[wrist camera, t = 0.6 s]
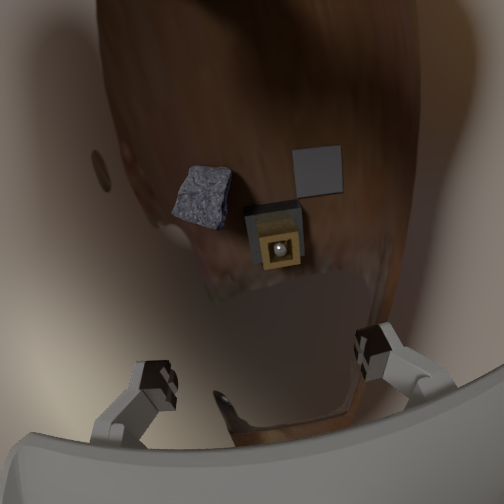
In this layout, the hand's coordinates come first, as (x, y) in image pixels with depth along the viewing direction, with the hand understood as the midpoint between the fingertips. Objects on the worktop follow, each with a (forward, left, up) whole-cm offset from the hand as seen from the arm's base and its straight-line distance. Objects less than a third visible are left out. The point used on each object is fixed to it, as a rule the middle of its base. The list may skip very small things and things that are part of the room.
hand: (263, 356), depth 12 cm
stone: (+6, -7, -44) cm, 44 cm away
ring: (+17, +5, -39) cm, 43 cm away
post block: (+17, +4, -43) cm, 46 cm away
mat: (+7, +14, -43) cm, 46 cm away
